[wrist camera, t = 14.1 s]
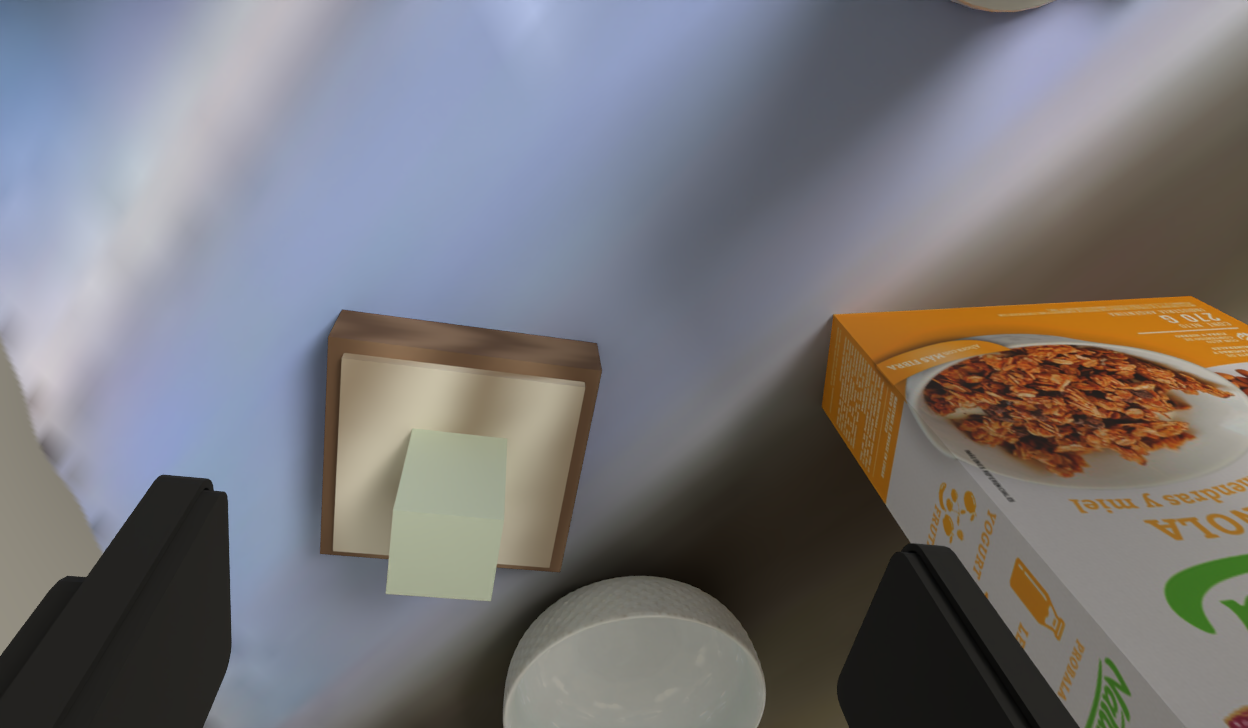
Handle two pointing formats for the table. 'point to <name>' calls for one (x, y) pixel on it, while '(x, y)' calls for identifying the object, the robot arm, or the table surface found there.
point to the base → (454, 425)
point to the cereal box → (1074, 485)
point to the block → (448, 516)
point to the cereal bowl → (635, 661)
